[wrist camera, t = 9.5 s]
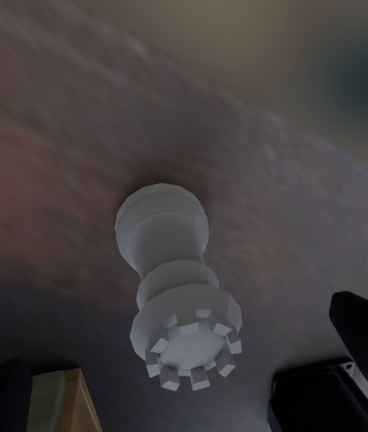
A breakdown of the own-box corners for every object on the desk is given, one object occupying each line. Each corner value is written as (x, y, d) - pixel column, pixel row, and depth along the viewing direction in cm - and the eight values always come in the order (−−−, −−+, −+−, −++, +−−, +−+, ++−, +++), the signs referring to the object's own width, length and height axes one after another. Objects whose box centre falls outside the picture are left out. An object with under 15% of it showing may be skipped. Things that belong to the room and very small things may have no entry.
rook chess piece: (161, 160, 13) (203, 254, 6) (220, 219, 15) (306, 343, 8) (95, 225, 14) (65, 376, 7) (160, 273, 16) (189, 432, 9)
